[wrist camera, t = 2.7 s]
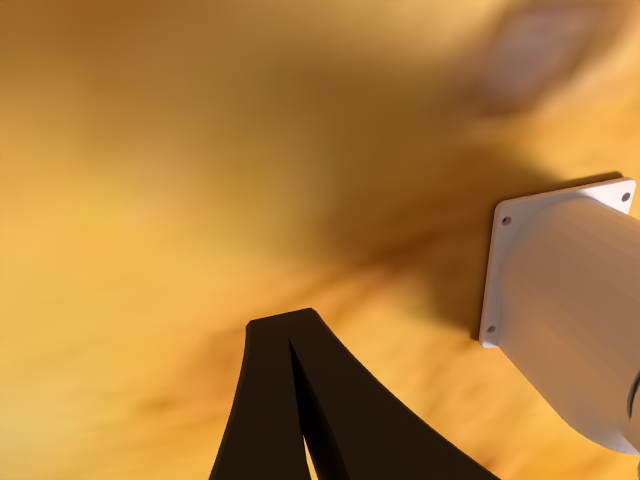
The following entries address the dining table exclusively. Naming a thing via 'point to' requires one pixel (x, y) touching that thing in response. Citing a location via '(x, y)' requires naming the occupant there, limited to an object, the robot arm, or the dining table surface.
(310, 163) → the dining table surface
